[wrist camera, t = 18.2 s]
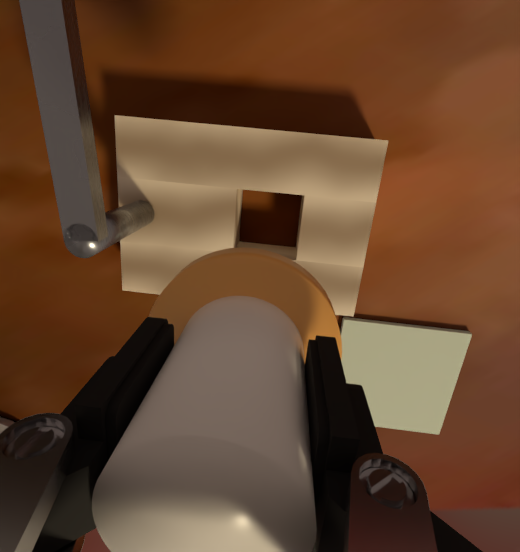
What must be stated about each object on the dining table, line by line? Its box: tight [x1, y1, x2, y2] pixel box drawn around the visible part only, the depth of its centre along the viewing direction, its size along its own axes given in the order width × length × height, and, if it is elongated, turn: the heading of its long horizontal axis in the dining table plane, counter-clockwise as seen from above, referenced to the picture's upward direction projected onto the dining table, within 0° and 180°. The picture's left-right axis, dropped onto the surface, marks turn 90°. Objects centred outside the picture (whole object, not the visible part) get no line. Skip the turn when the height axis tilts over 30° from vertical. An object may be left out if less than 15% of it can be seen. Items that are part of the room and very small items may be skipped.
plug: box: [92, 247, 342, 552], centre depth 11 cm, size 6×6×11 cm
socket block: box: [115, 115, 388, 317], centre depth 31 cm, size 14×20×4 cm
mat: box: [340, 317, 472, 434], centre depth 37 cm, size 12×12×1 cm
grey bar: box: [19, 0, 155, 258], centre depth 22 cm, size 16×2×9 cm, turn 0°
